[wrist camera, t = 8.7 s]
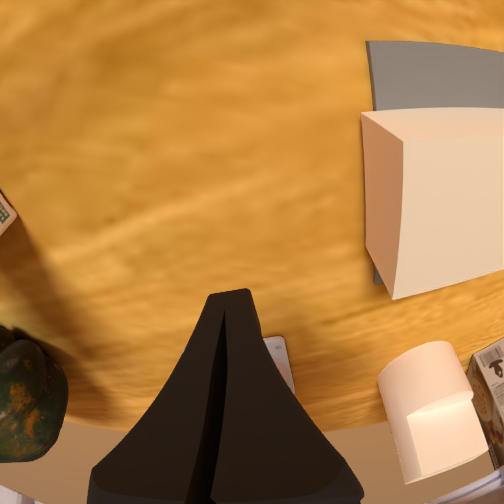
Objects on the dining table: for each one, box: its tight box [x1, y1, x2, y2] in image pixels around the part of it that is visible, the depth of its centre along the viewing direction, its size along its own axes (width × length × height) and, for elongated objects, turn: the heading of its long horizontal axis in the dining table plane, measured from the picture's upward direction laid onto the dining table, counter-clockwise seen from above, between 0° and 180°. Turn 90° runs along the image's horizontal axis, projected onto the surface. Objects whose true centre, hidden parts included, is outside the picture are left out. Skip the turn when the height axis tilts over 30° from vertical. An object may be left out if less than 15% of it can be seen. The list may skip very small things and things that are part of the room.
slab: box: [361, 107, 504, 300], centre depth 13 cm, size 8×4×10 cm
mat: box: [366, 41, 504, 286], centre depth 15 cm, size 15×12×1 cm
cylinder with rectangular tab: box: [377, 341, 489, 484], centre depth 24 cm, size 9×9×12 cm
